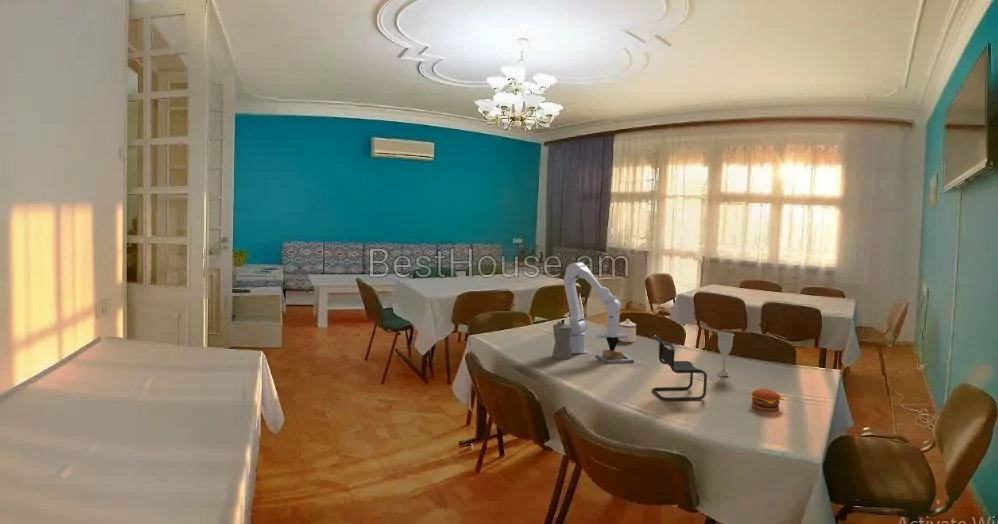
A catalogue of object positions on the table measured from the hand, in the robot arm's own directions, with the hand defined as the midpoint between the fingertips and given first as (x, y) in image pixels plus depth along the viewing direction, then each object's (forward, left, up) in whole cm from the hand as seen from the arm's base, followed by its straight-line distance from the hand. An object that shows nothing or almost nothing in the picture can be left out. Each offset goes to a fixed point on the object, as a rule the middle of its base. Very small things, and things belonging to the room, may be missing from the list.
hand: (611, 352), depth 273 cm
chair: (+8, -56, -2) cm, 56 cm away
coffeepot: (-24, +2, -2) cm, 24 cm away
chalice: (+39, -33, -2) cm, 51 cm away
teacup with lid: (+18, +32, -2) cm, 37 cm away
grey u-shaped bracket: (0, -4, -2) cm, 4 cm away
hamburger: (+34, -72, -2) cm, 79 cm away
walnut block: (-1, -4, -2) cm, 5 cm away
